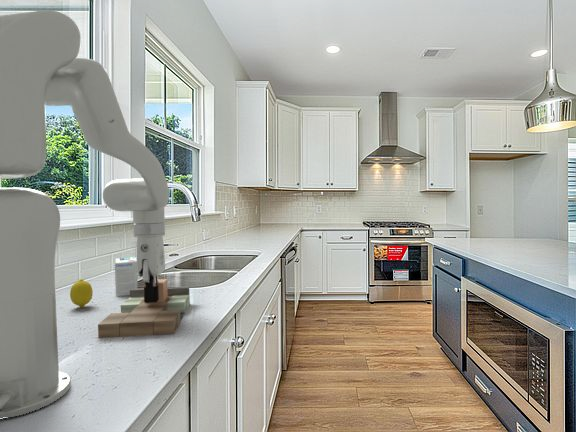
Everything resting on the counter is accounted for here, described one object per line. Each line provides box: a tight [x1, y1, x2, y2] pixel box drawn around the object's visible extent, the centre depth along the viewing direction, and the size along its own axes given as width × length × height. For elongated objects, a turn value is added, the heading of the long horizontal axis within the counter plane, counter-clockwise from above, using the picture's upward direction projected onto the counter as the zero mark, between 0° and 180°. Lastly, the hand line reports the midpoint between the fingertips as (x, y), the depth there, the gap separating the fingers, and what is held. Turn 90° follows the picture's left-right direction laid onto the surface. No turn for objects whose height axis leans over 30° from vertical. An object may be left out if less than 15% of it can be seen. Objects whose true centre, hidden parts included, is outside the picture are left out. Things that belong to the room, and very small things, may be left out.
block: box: [144, 278, 168, 303], centre depth 99 cm, size 5×5×5 cm
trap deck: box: [97, 286, 191, 339], centre depth 92 cm, size 24×16×5 cm, turn 7°
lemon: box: [69, 279, 94, 308], centre depth 103 cm, size 6×6×8 cm
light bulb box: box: [114, 256, 139, 297], centre depth 121 cm, size 11×7×11 cm, turn 25°
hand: (151, 301), depth 94 cm, fingers closed
